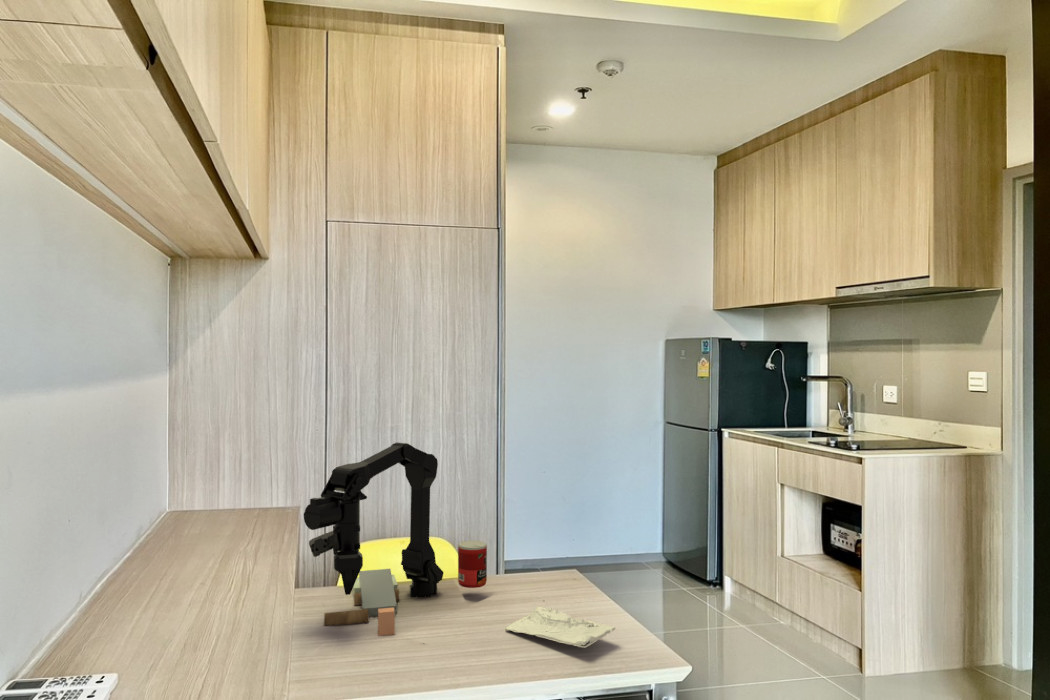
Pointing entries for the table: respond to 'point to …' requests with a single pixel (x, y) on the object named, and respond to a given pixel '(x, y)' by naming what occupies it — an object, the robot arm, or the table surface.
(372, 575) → the slab
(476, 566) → the canned food
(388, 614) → the orange upright block
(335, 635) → the table surface
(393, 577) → the block
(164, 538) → the table surface
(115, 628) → the table surface
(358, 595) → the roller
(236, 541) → the table surface
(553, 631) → the terrain model
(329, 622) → the roller
